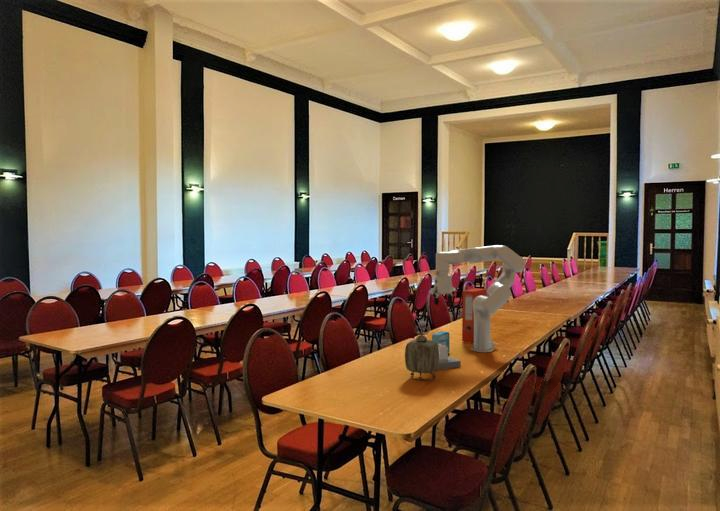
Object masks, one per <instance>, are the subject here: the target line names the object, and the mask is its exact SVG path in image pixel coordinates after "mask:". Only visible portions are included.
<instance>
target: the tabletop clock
mask: <svg viewBox="0 0 720 511" xmlns="http://www.w3.org/2000/svg"><path fill="white" fill-rule="evenodd" d="M418 328H424V329H426V330H427V332H425V333H423V331H420V332H417V331H416V329H418ZM413 330H414V333H415V334H417V335H418V336H416V338H415V339H412V340H409V341H408V343H406V345H405V349H404V363H405V368H406V370H408V371H409V372H410V376H412V377H413V376H414V375H415V373H418V374H419V376H418V380H420V381H422V380H423V377H422V374H431V377H432V378H433V379H435V378H436V374H434V373H433V372H434V371H435V369H436V368H437V366H438V362H439V349H438V345H437V342H435V341H432V339H427V338H428V337H427V336H425V335H427V334H429V332H430V331H429V328H428V327H426V326H424V325H417V326H416V327H414V329H413Z"/></svg>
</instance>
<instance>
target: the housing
mask: <svg viewBox="0 0 720 511" xmlns="http://www.w3.org/2000/svg"><path fill="white" fill-rule="evenodd" d="M437 345H438V349H439V361H447V360H448V357H449V355H448V354H449V353H448V347H447V346H444V345H440V344H439V343H437Z"/></svg>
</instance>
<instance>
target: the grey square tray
mask: <svg viewBox="0 0 720 511" xmlns="http://www.w3.org/2000/svg"><path fill="white" fill-rule="evenodd" d="M460 367H461V360H460V359H457V358H453V357H450V356H448V360H447V361H439V362H438V366H437V368H436V369H435V370H434V371H436V370H437V371H441V370H447V369H448V368H449V369H454V368H460Z"/></svg>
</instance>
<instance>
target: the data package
mask: <svg viewBox="0 0 720 511" xmlns="http://www.w3.org/2000/svg"><path fill="white" fill-rule="evenodd" d="M431 340H432V341H435V342H437V343H439V344H440V345H444V346H447V347H448V352H450V332H449V331H443V330H441V331H438V332H435V333H433V334H432V335H431Z"/></svg>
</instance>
